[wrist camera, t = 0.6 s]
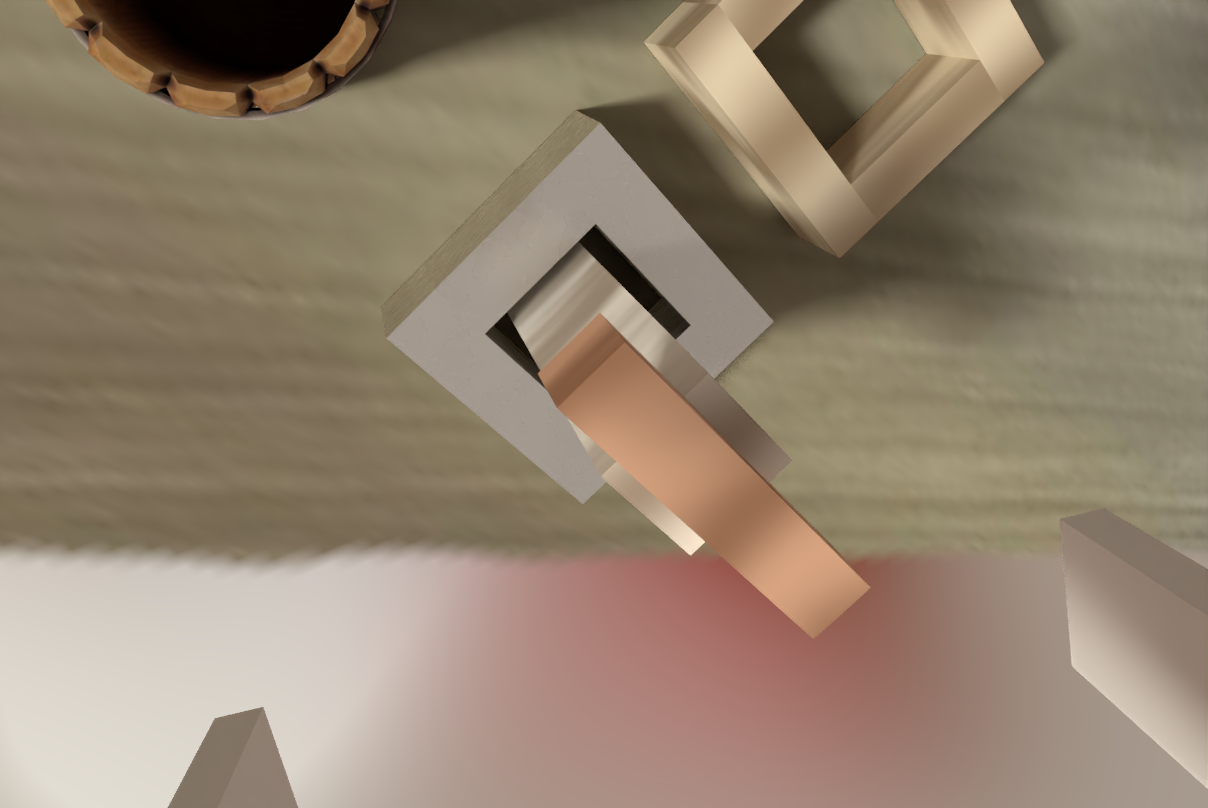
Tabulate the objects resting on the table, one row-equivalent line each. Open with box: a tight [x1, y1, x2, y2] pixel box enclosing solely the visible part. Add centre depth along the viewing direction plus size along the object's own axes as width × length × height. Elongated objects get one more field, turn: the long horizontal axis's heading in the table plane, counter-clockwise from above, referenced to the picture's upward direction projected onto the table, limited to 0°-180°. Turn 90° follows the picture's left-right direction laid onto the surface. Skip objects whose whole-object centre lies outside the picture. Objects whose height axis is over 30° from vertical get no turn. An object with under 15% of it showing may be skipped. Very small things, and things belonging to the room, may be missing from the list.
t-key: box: [507, 242, 870, 639], centre depth 35 cm, size 12×4×19 cm, turn 42°
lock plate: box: [381, 111, 774, 504], centre depth 42 cm, size 12×12×4 cm
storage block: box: [644, 0, 1044, 259], centre depth 40 cm, size 12×12×4 cm
